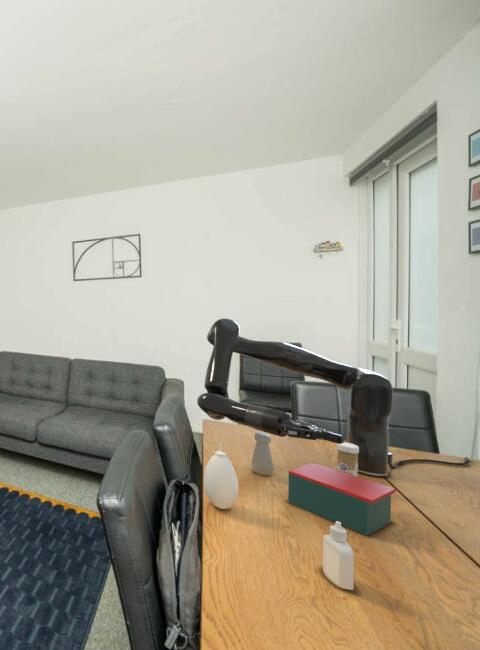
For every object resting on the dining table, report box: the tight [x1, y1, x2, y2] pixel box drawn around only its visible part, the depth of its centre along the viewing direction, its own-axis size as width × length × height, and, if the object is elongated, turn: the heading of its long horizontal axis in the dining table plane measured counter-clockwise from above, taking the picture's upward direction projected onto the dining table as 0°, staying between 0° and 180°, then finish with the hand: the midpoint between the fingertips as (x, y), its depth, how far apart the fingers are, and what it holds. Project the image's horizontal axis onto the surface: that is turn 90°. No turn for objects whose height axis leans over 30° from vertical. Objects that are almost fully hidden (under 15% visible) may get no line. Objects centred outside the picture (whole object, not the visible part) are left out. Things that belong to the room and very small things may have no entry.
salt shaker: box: [251, 432, 275, 476], centre depth 118 cm, size 6×6×13 cm
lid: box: [288, 461, 397, 503], centre depth 95 cm, size 16×13×1 cm
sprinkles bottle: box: [336, 441, 359, 477], centre depth 107 cm, size 5×5×14 cm
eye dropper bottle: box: [322, 521, 355, 591], centre depth 72 cm, size 4×6×12 cm
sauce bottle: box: [203, 442, 239, 510], centre depth 98 cm, size 8×8×18 cm
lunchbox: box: [287, 473, 392, 536], centre depth 95 cm, size 16×13×8 cm
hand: (342, 439), depth 94 cm, fingers closed
